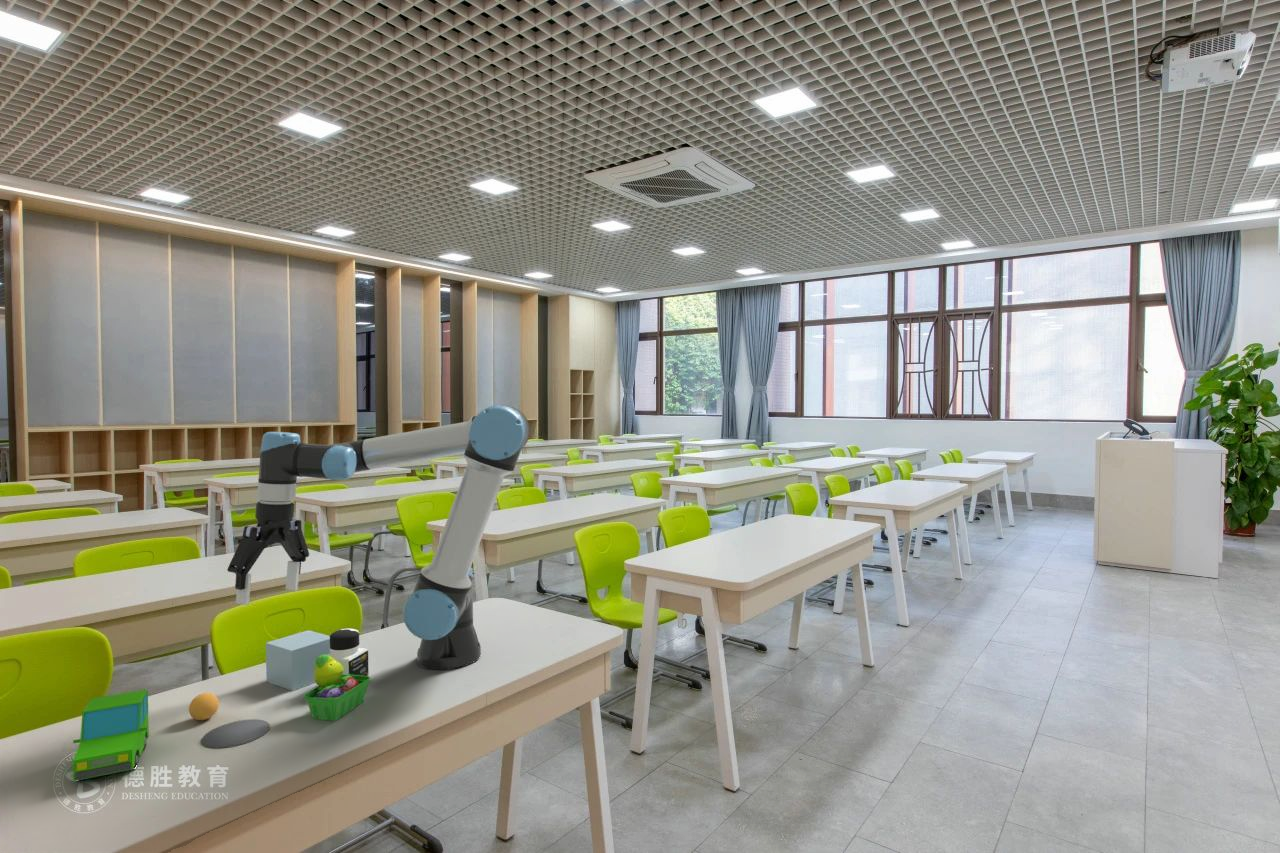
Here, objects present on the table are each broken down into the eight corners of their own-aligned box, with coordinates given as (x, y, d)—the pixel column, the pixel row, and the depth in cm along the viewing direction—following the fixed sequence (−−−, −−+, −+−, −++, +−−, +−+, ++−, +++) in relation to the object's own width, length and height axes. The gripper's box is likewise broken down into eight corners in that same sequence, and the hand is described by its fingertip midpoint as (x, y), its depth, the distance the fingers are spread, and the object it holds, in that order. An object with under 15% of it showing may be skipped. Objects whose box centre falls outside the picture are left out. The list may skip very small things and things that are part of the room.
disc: (281, 728, 128) (281, 727, 128) (220, 753, 119) (220, 752, 119) (250, 715, 134) (250, 714, 134) (190, 738, 124) (190, 737, 124)
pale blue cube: (335, 675, 154) (334, 637, 154) (292, 690, 146) (291, 650, 146) (309, 666, 160) (308, 630, 160) (266, 681, 151) (265, 642, 151)
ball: (224, 716, 133) (223, 692, 133) (196, 727, 129) (196, 701, 129) (211, 711, 136) (210, 686, 136) (184, 720, 132) (183, 695, 132)
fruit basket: (335, 725, 130) (334, 667, 129) (297, 720, 132) (296, 663, 131) (372, 700, 141) (371, 647, 140) (336, 696, 143) (335, 644, 143)
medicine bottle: (349, 692, 145) (348, 637, 145) (320, 689, 146) (319, 635, 146) (369, 679, 152) (368, 627, 152) (341, 677, 153) (340, 625, 153)
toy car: (63, 792, 107) (61, 730, 107) (85, 755, 119) (84, 699, 119) (141, 775, 112) (140, 716, 112) (155, 741, 124) (154, 688, 123)
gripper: (304, 494, 161) (296, 581, 161) (212, 505, 137) (204, 607, 137) (330, 498, 159) (322, 586, 159) (242, 509, 135) (233, 613, 135)
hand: (268, 596), depth 148 cm, fingers open, 13 cm apart
